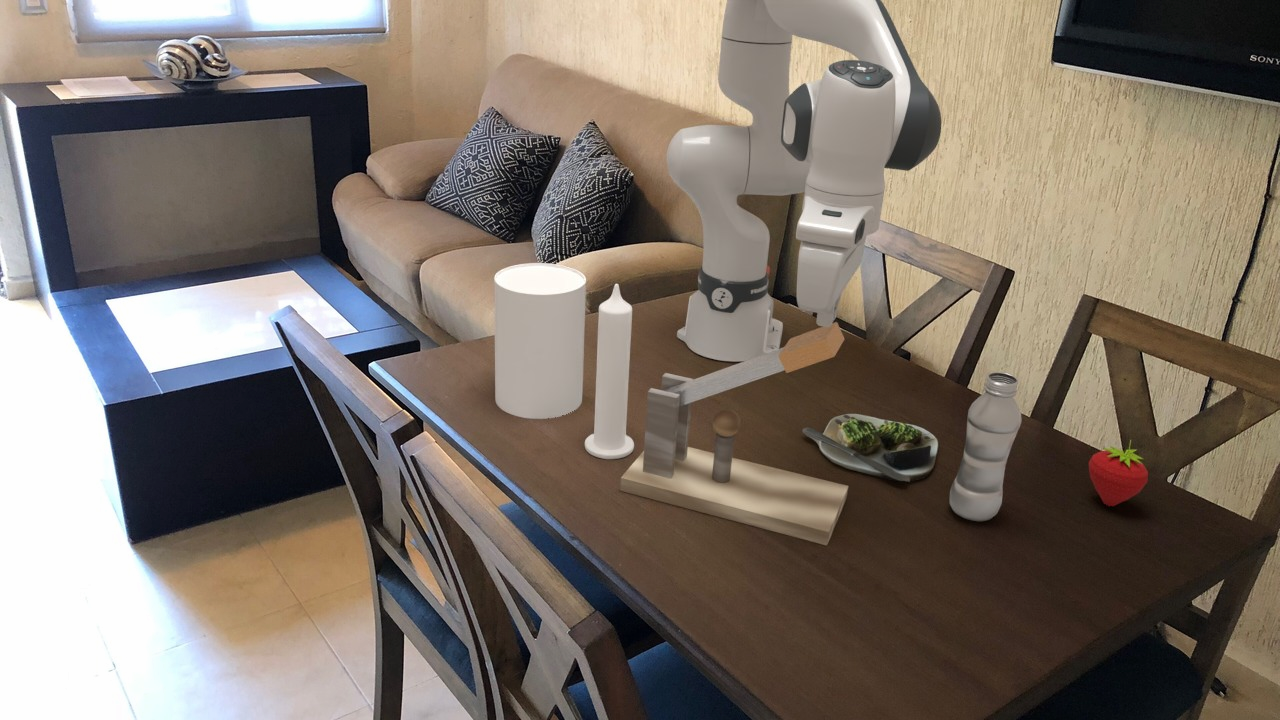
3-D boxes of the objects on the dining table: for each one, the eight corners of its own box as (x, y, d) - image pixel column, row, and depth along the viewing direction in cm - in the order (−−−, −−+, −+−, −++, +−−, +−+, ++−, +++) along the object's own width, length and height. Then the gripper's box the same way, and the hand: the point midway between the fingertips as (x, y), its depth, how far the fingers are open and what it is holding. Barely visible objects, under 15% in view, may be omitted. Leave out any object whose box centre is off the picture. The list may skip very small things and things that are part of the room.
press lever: (668, 400, 136) (660, 385, 136) (844, 338, 123) (836, 321, 123) (652, 419, 131) (644, 403, 131) (834, 356, 118) (826, 338, 118)
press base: (653, 450, 144) (659, 362, 138) (846, 498, 135) (861, 406, 129) (620, 490, 134) (625, 397, 128) (826, 545, 125) (842, 447, 119)
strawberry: (1089, 486, 141) (1106, 423, 137) (1144, 508, 137) (1163, 444, 133) (1072, 501, 137) (1089, 437, 133) (1128, 524, 133) (1148, 459, 129)
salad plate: (787, 464, 143) (791, 436, 141) (816, 412, 158) (820, 386, 156) (925, 498, 137) (930, 469, 135) (942, 441, 152) (947, 414, 150)
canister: (479, 407, 153) (477, 284, 145) (519, 373, 165) (519, 257, 157) (560, 426, 149) (563, 300, 141) (595, 389, 161) (600, 272, 153)
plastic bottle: (936, 504, 135) (964, 370, 126) (977, 497, 137) (1007, 364, 129) (966, 531, 129) (997, 392, 121) (1008, 523, 132) (1042, 386, 123)
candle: (628, 462, 140) (637, 296, 130) (579, 455, 142) (584, 289, 131) (638, 439, 147) (647, 278, 136) (591, 432, 148) (597, 272, 138)
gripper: (833, 186, 124) (819, 291, 130) (792, 228, 107) (778, 347, 113) (884, 194, 122) (868, 299, 128) (851, 238, 105) (834, 358, 111)
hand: (825, 322), depth 120 cm, fingers closed
